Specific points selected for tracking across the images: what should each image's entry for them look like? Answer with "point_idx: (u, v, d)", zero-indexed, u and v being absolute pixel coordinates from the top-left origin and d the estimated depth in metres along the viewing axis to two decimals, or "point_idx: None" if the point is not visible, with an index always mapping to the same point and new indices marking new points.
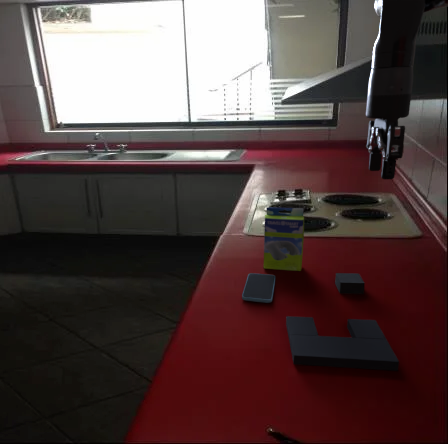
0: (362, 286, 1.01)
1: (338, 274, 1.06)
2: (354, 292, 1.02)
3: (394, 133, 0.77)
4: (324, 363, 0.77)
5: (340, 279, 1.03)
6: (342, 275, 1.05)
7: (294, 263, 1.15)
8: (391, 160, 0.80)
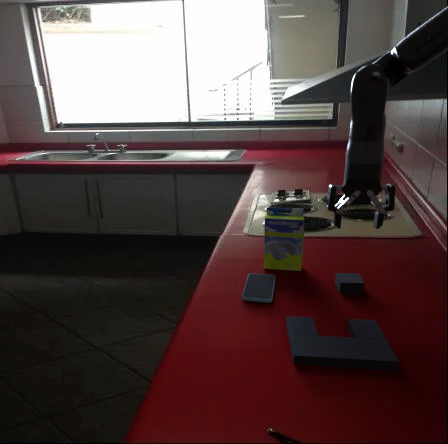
0: (362, 286, 1.01)
1: (338, 274, 1.06)
2: (354, 292, 1.02)
3: (328, 189, 0.97)
4: (324, 363, 0.77)
5: (340, 279, 1.03)
6: (342, 275, 1.05)
7: (294, 263, 1.15)
8: None
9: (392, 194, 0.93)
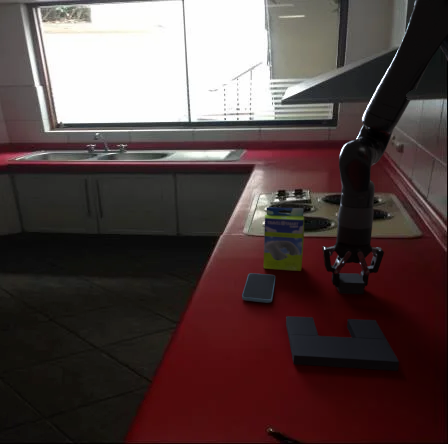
0: (362, 286, 1.01)
1: None
2: (354, 292, 1.02)
3: (323, 252, 1.04)
4: (324, 363, 0.77)
5: (340, 279, 1.03)
6: (342, 275, 1.05)
7: (294, 263, 1.15)
8: (332, 271, 1.04)
9: (379, 258, 1.00)
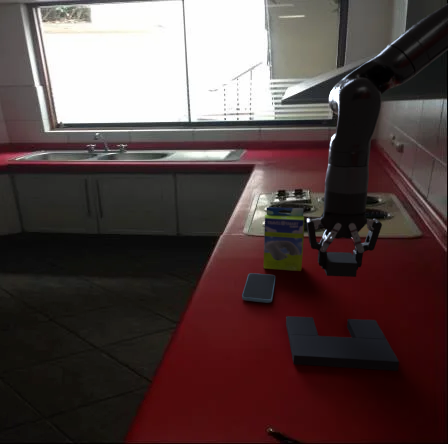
0: (354, 267, 0.82)
1: None
2: (344, 274, 0.83)
3: (307, 225, 0.84)
4: (324, 363, 0.77)
5: (328, 258, 0.84)
6: (330, 254, 0.86)
7: (294, 263, 1.15)
8: (318, 249, 0.85)
9: (376, 232, 0.80)
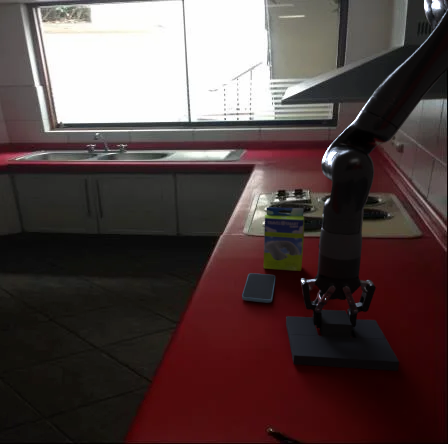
0: (349, 328, 0.82)
1: None
2: (339, 335, 0.83)
3: (301, 285, 0.85)
4: (324, 363, 0.77)
5: (322, 318, 0.84)
6: (325, 313, 0.86)
7: (294, 263, 1.15)
8: None
9: (370, 294, 0.81)
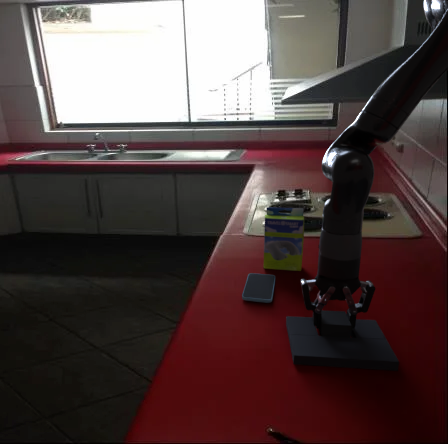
0: (348, 329, 0.82)
1: None
2: (339, 336, 0.83)
3: (301, 286, 0.85)
4: (324, 363, 0.77)
5: (322, 319, 0.84)
6: (325, 313, 0.86)
7: (294, 263, 1.15)
8: None
9: (370, 295, 0.81)
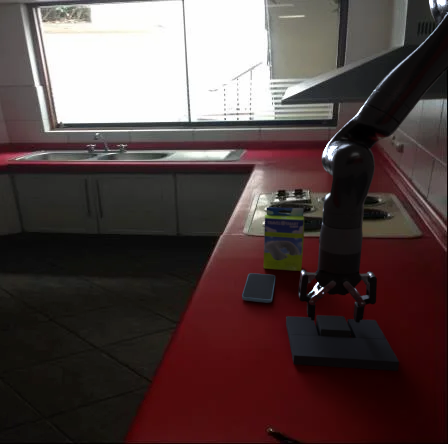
0: (347, 334, 0.83)
1: (319, 317, 0.88)
2: None
3: (300, 276, 0.84)
4: (324, 363, 0.77)
5: (321, 324, 0.85)
6: (324, 318, 0.87)
7: (294, 263, 1.15)
8: None
9: (373, 286, 0.80)
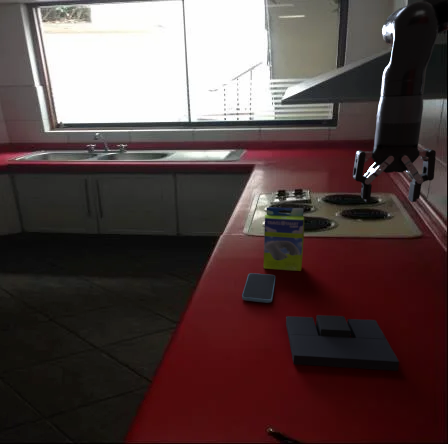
0: (347, 334, 0.83)
1: (319, 317, 0.88)
2: None
3: (356, 157, 0.84)
4: (324, 363, 0.77)
5: (321, 324, 0.85)
6: (324, 318, 0.87)
7: (294, 263, 1.15)
8: (362, 182, 0.85)
9: (432, 160, 0.80)
